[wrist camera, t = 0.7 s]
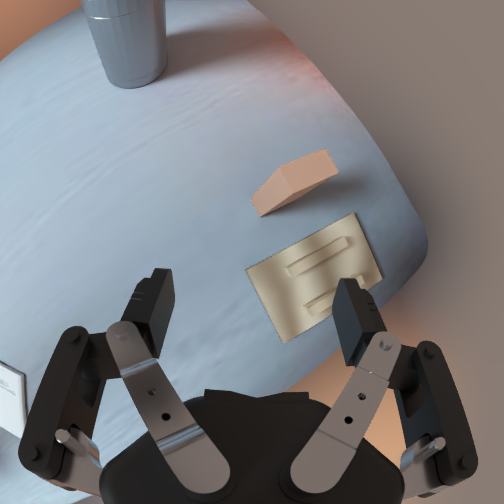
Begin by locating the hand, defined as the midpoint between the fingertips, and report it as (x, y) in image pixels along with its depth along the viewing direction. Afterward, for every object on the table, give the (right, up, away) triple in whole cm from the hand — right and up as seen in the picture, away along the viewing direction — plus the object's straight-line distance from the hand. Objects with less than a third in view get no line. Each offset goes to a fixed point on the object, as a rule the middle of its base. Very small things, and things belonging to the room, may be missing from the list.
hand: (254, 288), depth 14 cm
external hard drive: (-37, -20, +13) cm, 44 cm away
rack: (+8, -1, +22) cm, 24 cm away
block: (+2, +8, +22) cm, 23 cm away
